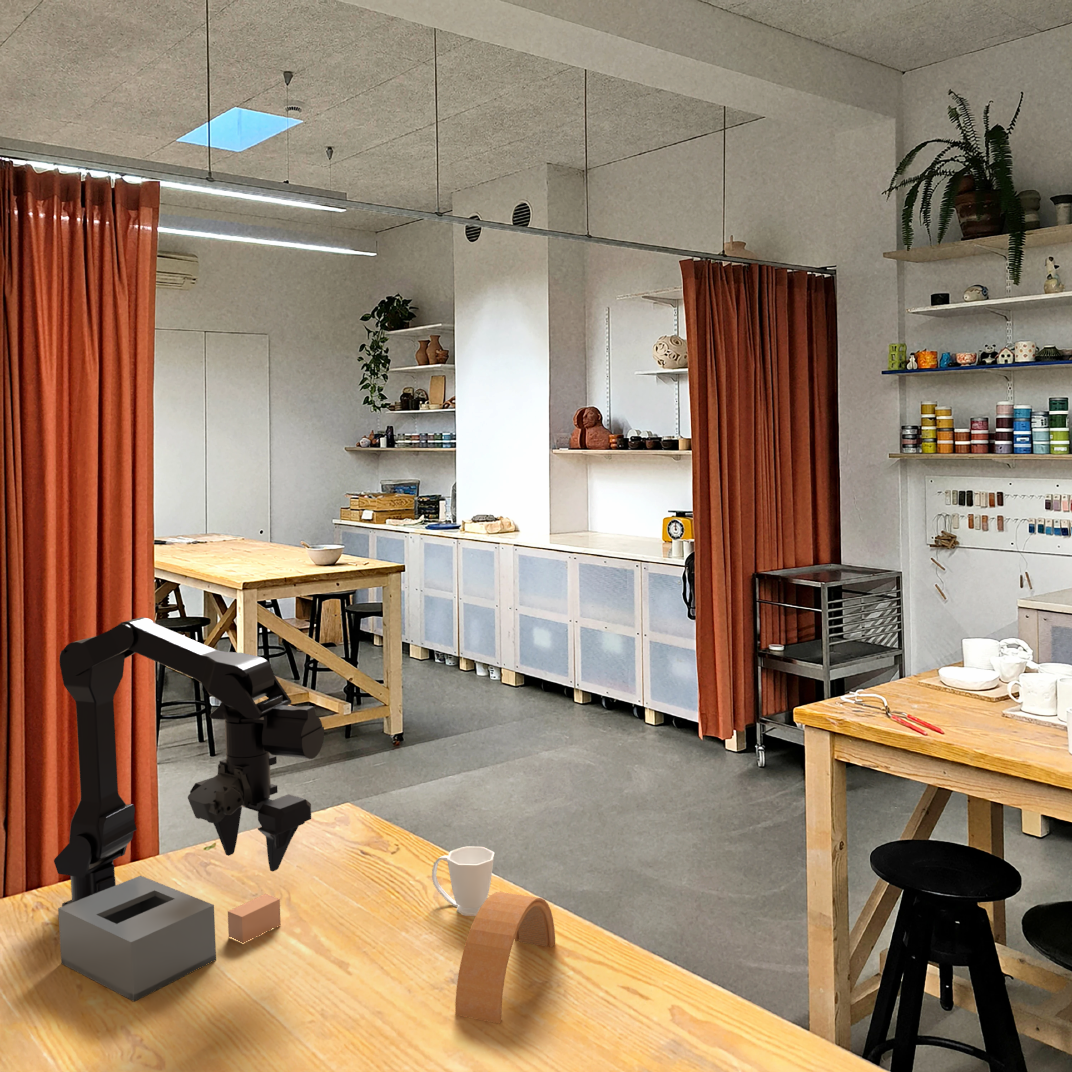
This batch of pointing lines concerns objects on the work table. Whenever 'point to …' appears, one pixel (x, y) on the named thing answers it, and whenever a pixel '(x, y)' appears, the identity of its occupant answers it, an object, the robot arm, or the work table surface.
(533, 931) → the arch
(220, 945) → the work table surface
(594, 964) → the work table surface
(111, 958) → the box
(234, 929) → the block
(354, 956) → the work table surface
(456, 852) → the cup
